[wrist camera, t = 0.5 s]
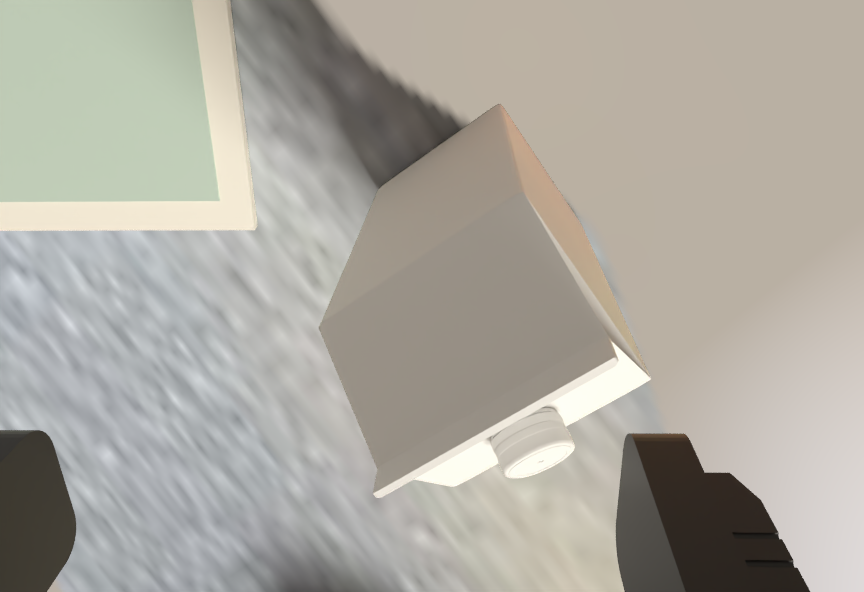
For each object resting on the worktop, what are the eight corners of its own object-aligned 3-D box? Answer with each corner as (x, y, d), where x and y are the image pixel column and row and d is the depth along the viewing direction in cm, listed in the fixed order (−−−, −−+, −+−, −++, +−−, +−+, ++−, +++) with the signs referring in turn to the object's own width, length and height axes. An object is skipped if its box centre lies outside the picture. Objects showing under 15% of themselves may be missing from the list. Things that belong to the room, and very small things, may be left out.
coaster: (-103, -85, 31) (-115, -86, 30) (219, -93, 30) (213, -94, 30) (-15, 226, 37) (-24, 231, 36) (257, 226, 36) (253, 230, 35)
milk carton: (376, 188, 35) (285, 398, 17) (499, 100, 33) (534, 240, 15) (461, 298, 37) (454, 584, 20) (581, 223, 35) (691, 465, 18)
